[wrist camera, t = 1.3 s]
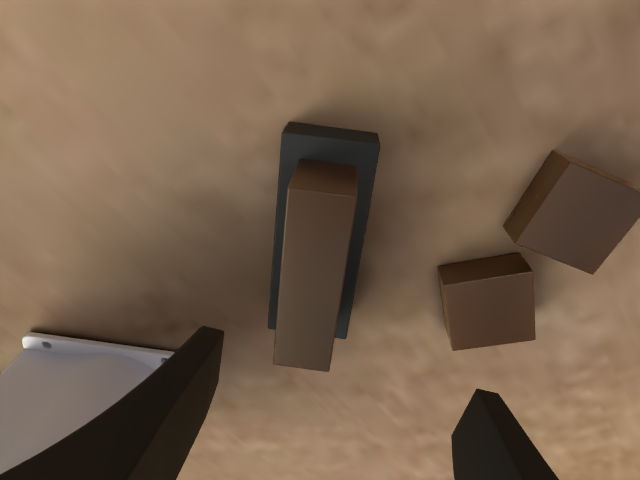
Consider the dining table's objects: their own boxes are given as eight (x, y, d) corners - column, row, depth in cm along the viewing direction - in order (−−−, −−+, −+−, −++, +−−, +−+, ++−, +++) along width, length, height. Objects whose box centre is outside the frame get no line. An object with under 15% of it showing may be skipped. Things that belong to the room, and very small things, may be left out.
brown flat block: (502, 226, 21) (514, 243, 19) (552, 149, 19) (570, 161, 18) (575, 256, 21) (593, 275, 20) (630, 183, 20) (655, 198, 18)
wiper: (273, 306, 24) (252, 379, 19) (288, 121, 19) (265, 155, 14) (346, 316, 24) (344, 392, 19) (378, 132, 19) (386, 171, 14)
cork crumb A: (446, 329, 24) (452, 351, 22) (436, 266, 22) (443, 285, 20) (523, 318, 23) (535, 340, 21) (520, 252, 21) (533, 271, 20)
